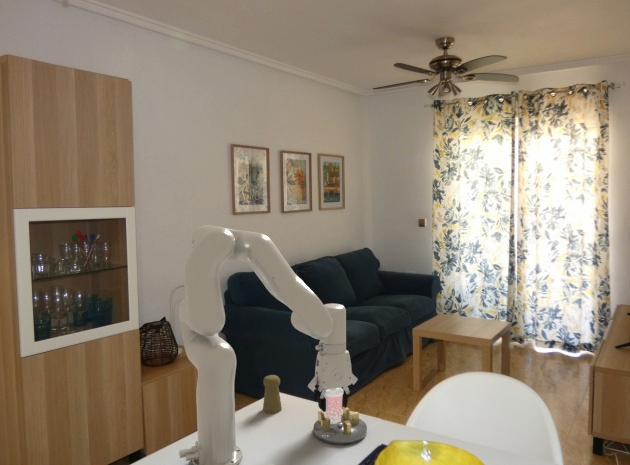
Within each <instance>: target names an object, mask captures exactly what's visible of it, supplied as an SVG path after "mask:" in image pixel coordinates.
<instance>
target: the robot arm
mask: <svg viewBox="0 0 630 465" xmlns="http://www.w3.org/2000/svg"><path fill="white" fill-rule="evenodd" d="M190 235H191V236H190V240H189V241H190V246H191V248H192V250H191V252H190V253H189V254H188V257H187V259H186V262H185V264H184V267H183V283H184V292H185V297H184V298H183V299H182V300H181V302H180V304H179V308H178V320H179V326H180V332H181V337H182V341H183V342H182V343H183V347H184V351H185V355H186V357H187V359H188V360H189V362H190V363H191V364H192V365H193V366H194V367H195V368H196V369H197V381H196V390H195V392H196V393H195V398H196V421H197V422H196V424H197V426H196V427H197V429H196V430H197V441H195V442H194V444H195V445H193V446H191V447H190V448H183V449H179V450H178V454H179V455H178V457H179V459H182V458H183V459H184V458H185V461H186V462H188V461H191V462H192V465H239V464H240V462H242V459H243V452H242V449H241V448H240V447H239V446H238V445H237V442H236V440H237V438H236V437H237V436H236V435H237V434H236V399H235V380H236V379H235V378H236V372H237V371H236V370H237V355H236V353H235V350H234V348H233V347H232V346H231V344H229V343H228V342H227V341H226V340H224V339H223V338H222V337H220V336H219V333H220V332H221V331H222V330H223V328H224V325H225V324H226V312H225V307H224V303H223V302H224V300H223V297H222V290H221V282H220V273H221V269H222V267H223V265H224V264H225V262H227V260H229V261H240V262H244V263H247V264H248V266H249V267H250V268H251V270H252V271H253V272H254V273H255V275H256V276H257V277H258V279H259V280H260V281H261V283H262V284H263V285H264V287H265V289H266V290H267V291H268V292H269V293H270V295H271V296H273V297H274V298H275V299H276V300H277V301H279V302H281V303H282V304H284V305H285V306H286V307H288V308H289V309H290V310H291V311H292V312H291V316H290V322H291V325H292V326H293V328H294V329H296V330H297V331H299V332H301V333H303V334H304V335H307V336H310V337H311V338H313V339H316V340H319V341H318V345H315V350H316V351H318V352H317V355H316V360H315V371H314V372H315V373H314V377H313V378H312V379H311V381H310V382H309V383H308V385H307V388H308V389H310V390H311V391H312V392H313V393H314V394H315V395H316V396H318V401H317V402H318V408H319V409H320V411H322V412H323V413H325V411H326V398H325V397H324V396H325V393H326V390H329V389H335V388H342V389H343V391H344V392H343V396H342V408H343V407H344V408H347V407H348V403H349V402H348V401H349V394H350V392H351V390H352V388H353V387H354V385H355V384H356V383H357V382H358V380H359V379H358V377H356V375H354V373H353V371H352V362H351V356H350V352H349V350H347V309H346V307H345V306H344V305H343V304H340V303H333V302H332V303H325V304H324V303H323V302H322V300H321V299H320V298H319V297H318V295H317V294H315V292H314V291H313V290H312V289H311V288H310V287H309V286H308V285H307V284H306V283H305V282H304V280H302V278H300V277H299V276H298V275H297V273H295V271H294V270H293V268H292V267H291V265H290V264H289V262H288V261H287V260H286V258H285V257H284V256H283V255H282V253H281V252H280V250H279V248H278V247H277V246H276V244H275V243H274V241H273V240H272V239H271V238H270V237H269V236H267V235H266V234H264V233H262V232H257V231H249V230H243V229H242V230H241V229H233V228H228V227H223V226H218V225H211V224H204V225H201V226H200V225H199V226H198V227H196V228H195V229H194V230H193V232H192V233H191V234H190ZM316 386H318V389H317V387H316Z"/></svg>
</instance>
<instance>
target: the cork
mask: <svg viewBox="0 0 630 465" xmlns="http://www.w3.org/2000/svg"><path fill="white" fill-rule="evenodd" d="M262 384H263V387H264V397H263V404H262V411H263V413H265V414H268V415H270V414H271V415H273V414H278V413H280V412H281V411H282V410H283V409H282V401H281V396H280V389H279V386H280V384H281V378H280V377H279V375H275V374H270V375H266V376H265V377H264V378H263V382H262Z"/></svg>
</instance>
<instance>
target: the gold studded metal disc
mask: <svg viewBox="0 0 630 465" xmlns="http://www.w3.org/2000/svg"><path fill="white" fill-rule="evenodd" d="M367 428H368V427H367V423H366V422H365V421H364V420H362V419H361V418H360V412H358V411H354V412H350V408H349V407H348V406H347V408H344V407H343V406H342V414H341V422H338V423H337V424H330V418H329V417H328V418H325V412H323V411H322V410H318V411H317V420H316V421H315V422H314V424H313V435H314V437H315V438H316V439H317V440H319V441H320V442H322V443H325V444H328V445H334V446H347V445H354V444H357V443H359V442H361V441H362V440H364V439H365V438H366V437H367V433H368V431H367V430H368V429H367Z"/></svg>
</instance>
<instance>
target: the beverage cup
mask: <svg viewBox="0 0 630 465" xmlns="http://www.w3.org/2000/svg"><path fill="white" fill-rule="evenodd" d="M343 392H344V391H343V389H342V388H335V389H329V390H326V393H325V396H324V397H325V398H326V411H325V412H324V416H325V418H328V417H329V418H330V424H337V423H338V422H341V415H342V414H343V406H342V396H343Z"/></svg>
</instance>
